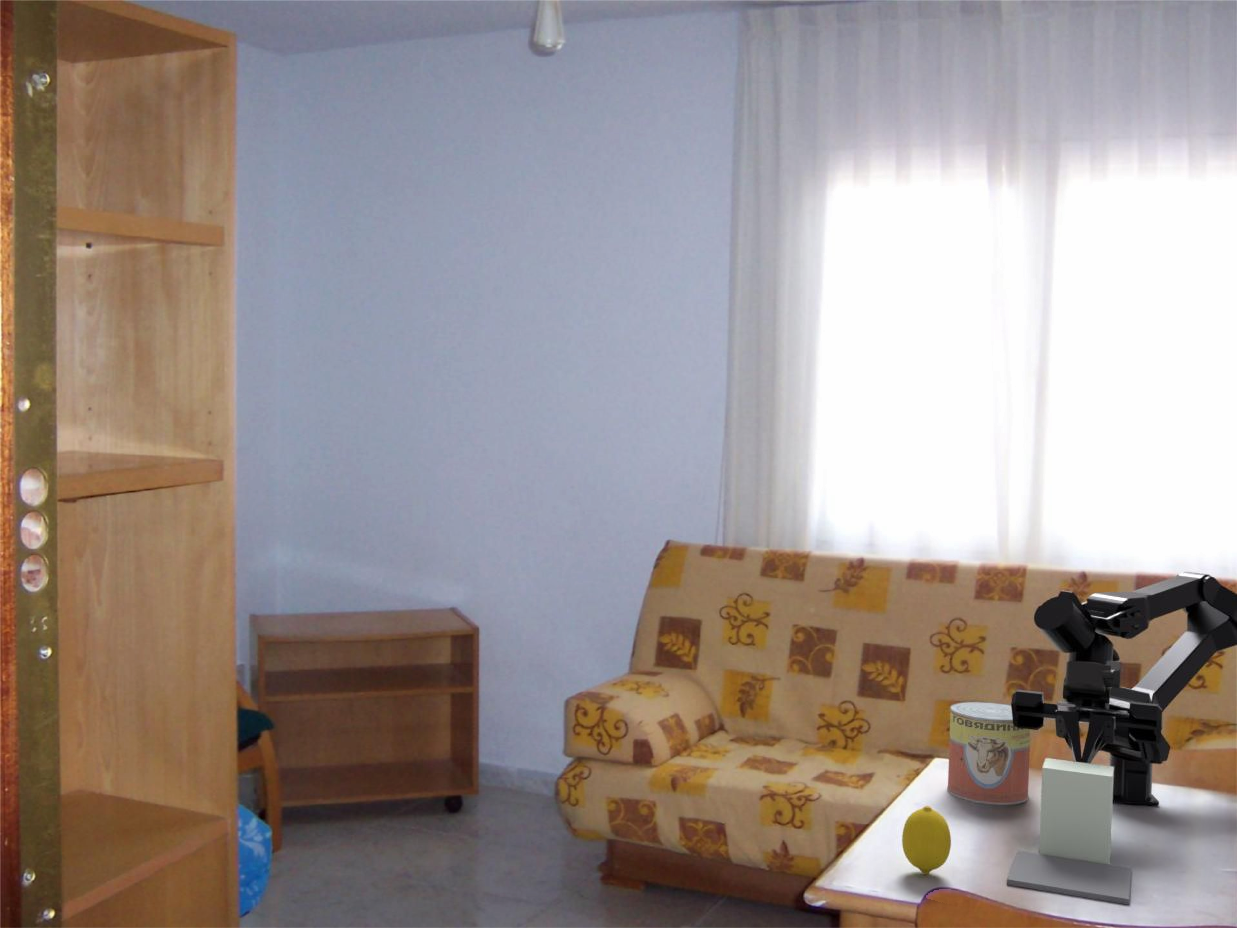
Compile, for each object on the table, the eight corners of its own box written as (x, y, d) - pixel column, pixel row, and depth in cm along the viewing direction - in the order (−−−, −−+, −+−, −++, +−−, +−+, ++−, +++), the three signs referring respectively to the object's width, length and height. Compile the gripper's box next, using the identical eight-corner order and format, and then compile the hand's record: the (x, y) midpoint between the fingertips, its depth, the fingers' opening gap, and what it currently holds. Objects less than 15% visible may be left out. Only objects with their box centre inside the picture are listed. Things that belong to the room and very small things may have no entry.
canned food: (945, 799, 176) (948, 715, 175) (948, 778, 186) (951, 698, 186) (1029, 808, 172) (1032, 722, 172) (1027, 786, 183) (1030, 705, 183)
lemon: (941, 886, 142) (943, 816, 141) (894, 875, 145) (896, 807, 144) (955, 872, 146) (958, 804, 146) (910, 862, 149) (912, 796, 149)
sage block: (1042, 843, 157) (1045, 757, 157) (1110, 854, 154) (1113, 766, 154) (1038, 856, 153) (1042, 767, 152) (1108, 867, 150) (1112, 776, 149)
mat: (1017, 854, 153) (1017, 850, 153) (1131, 872, 148) (1131, 867, 148) (1006, 884, 143) (1006, 878, 143) (1128, 904, 138) (1129, 898, 138)
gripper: (1015, 630, 169) (1002, 728, 160) (1164, 643, 162) (1160, 746, 152) (1019, 677, 177) (1007, 773, 167) (1162, 692, 169) (1158, 793, 160)
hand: (1080, 771), depth 161 cm, fingers closed
